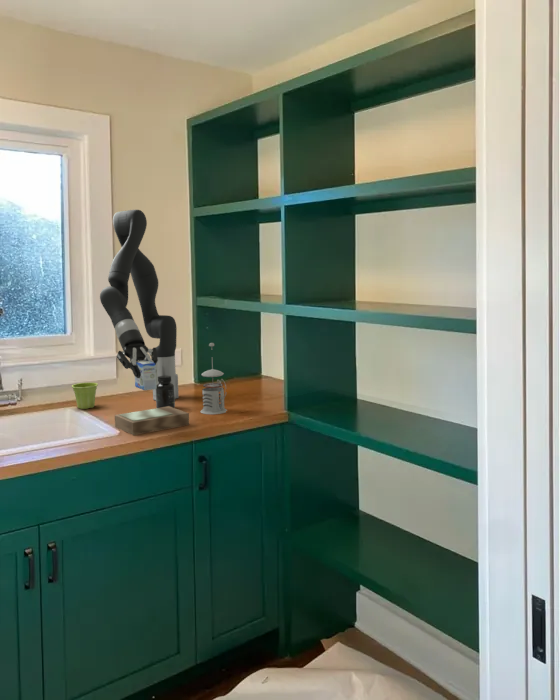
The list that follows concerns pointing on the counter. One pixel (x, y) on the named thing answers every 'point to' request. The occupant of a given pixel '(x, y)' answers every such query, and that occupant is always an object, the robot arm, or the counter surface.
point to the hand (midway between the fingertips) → (146, 375)
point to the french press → (213, 393)
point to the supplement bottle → (165, 392)
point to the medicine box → (146, 375)
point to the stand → (151, 420)
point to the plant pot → (85, 394)
